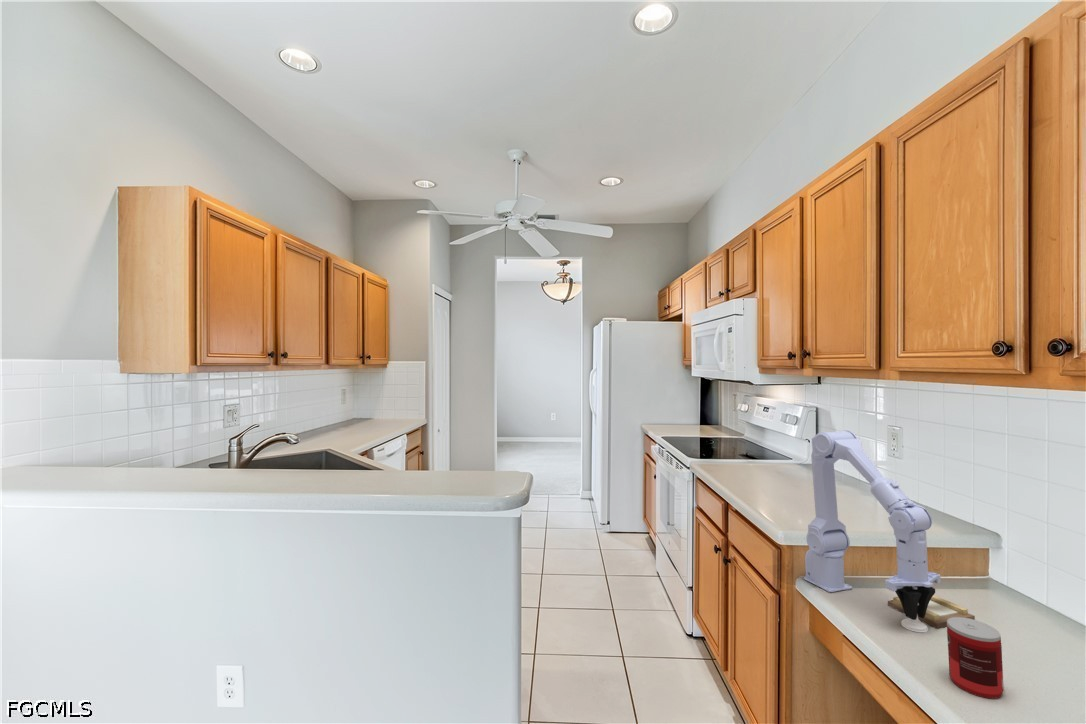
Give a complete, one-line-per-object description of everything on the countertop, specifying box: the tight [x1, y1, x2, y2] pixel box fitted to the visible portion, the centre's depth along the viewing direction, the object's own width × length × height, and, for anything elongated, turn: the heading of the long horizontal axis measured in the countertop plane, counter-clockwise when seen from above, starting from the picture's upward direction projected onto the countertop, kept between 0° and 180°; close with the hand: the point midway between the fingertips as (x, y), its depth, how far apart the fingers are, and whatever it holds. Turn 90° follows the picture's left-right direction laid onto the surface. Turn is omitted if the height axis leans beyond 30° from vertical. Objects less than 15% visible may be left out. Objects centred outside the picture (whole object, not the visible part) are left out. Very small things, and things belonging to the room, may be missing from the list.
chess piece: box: [900, 586, 929, 633], centre depth 112 cm, size 5×5×10 cm
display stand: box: [887, 594, 976, 630], centre depth 119 cm, size 12×12×2 cm
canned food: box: [946, 617, 1005, 699], centre depth 91 cm, size 8×8×11 cm
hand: (914, 617), depth 112 cm, fingers closed on chess piece
